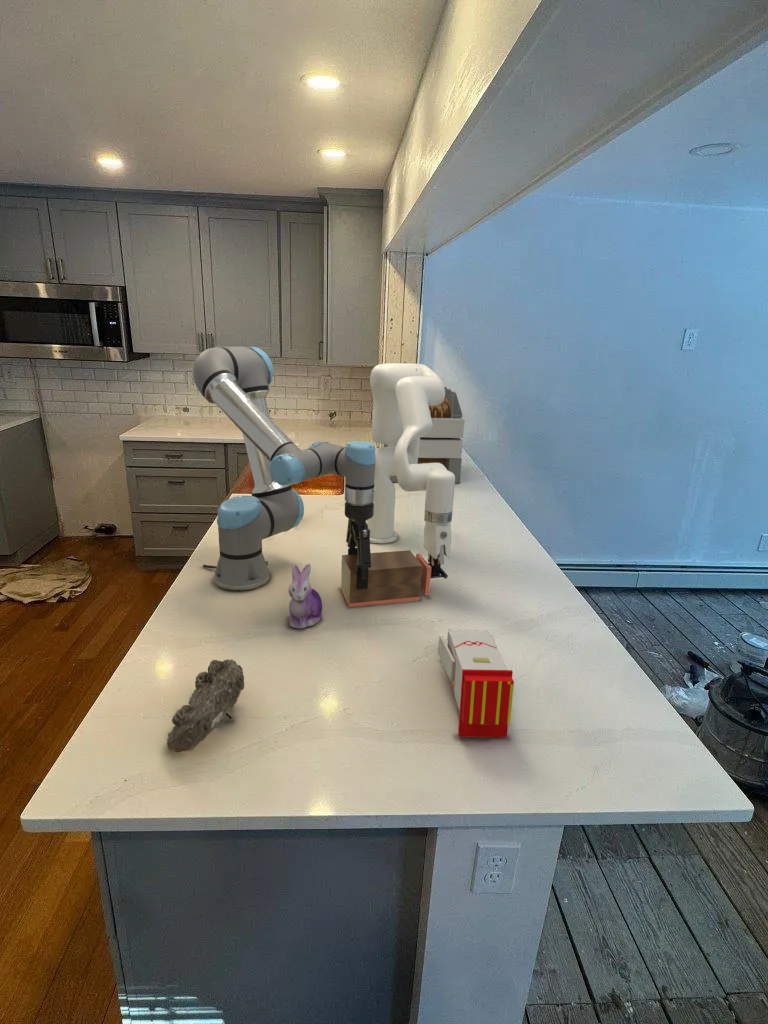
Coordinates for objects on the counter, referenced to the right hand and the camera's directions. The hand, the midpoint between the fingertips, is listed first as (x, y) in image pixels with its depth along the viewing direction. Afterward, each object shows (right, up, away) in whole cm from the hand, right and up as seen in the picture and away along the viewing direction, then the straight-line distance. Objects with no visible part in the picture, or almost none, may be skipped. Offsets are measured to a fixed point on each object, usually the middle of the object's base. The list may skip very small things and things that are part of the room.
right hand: (433, 576), depth 160 cm
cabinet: (-15, -5, -3) cm, 16 cm away
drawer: (-9, -3, -1) cm, 10 cm away
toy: (+4, -19, -41) cm, 46 cm away
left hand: (-21, 0, -6) cm, 22 cm away
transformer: (+3, +37, +115) cm, 121 cm away
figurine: (-34, -9, -17) cm, 39 cm away
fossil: (-47, -21, -52) cm, 73 cm away
